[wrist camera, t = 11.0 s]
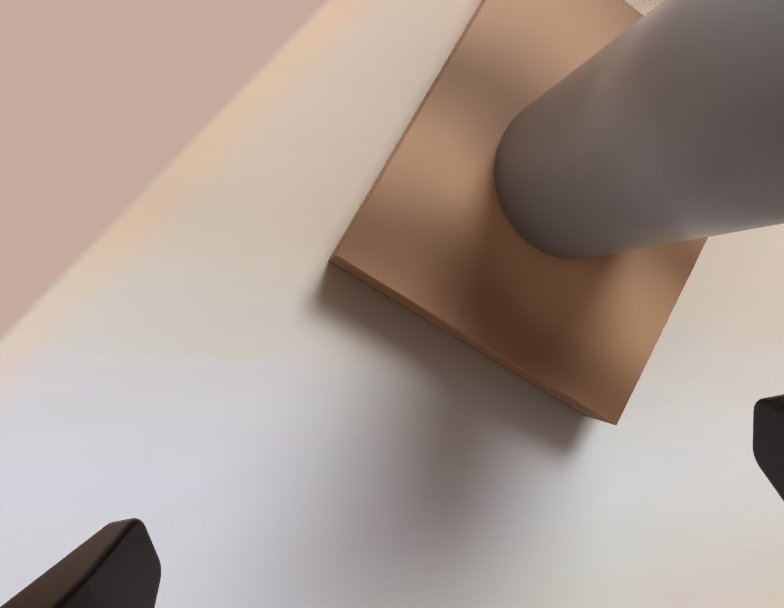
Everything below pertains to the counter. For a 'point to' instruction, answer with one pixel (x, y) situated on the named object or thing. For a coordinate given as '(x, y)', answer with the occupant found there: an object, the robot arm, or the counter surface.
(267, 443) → the counter surface
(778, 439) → the robot arm
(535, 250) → the shelf board
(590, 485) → the counter surface
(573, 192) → the grey cylinder
